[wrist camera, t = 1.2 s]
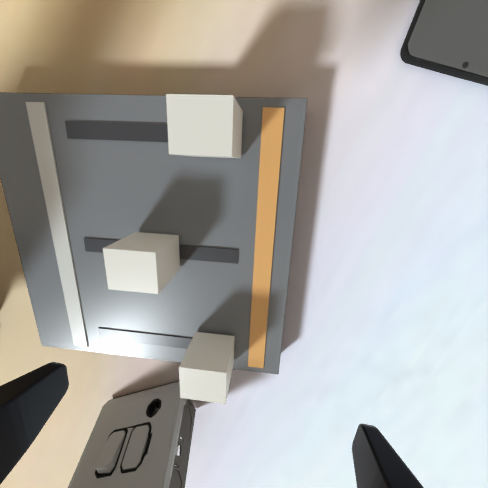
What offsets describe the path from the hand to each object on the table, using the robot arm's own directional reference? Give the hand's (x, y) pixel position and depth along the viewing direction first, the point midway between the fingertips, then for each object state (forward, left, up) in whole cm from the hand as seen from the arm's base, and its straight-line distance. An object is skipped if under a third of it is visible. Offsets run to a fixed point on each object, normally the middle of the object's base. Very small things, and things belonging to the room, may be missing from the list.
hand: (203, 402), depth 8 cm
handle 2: (-2, -7, -10) cm, 12 cm away
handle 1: (-2, +8, -10) cm, 13 cm away
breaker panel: (-7, +1, -12) cm, 14 cm away
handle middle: (-6, +1, -10) cm, 12 cm away
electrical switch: (-8, -17, -13) cm, 22 cm away
